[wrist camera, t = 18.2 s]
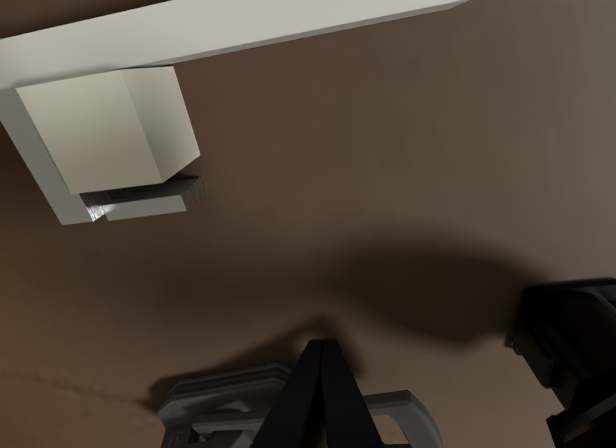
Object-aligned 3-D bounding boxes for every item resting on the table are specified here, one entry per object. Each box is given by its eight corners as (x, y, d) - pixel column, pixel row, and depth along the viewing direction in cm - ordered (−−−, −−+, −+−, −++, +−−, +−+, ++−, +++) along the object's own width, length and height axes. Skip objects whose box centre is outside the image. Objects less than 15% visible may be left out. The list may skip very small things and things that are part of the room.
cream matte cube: (173, 66, 17) (119, 69, 13) (200, 154, 20) (162, 182, 15) (86, 81, 18) (7, 89, 14) (122, 165, 20) (64, 195, 16)
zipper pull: (456, 469, 23) (179, 511, 29) (430, 384, 28) (205, 435, 35) (419, 396, 19) (113, 462, 25) (399, 316, 25) (154, 386, 31)
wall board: (449, -43, 14) (481, -70, 11) (447, 9, 15) (476, -3, 12) (32, 48, 17) (-33, 46, 14) (51, 87, 18) (-5, 93, 15)
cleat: (162, 65, 17) (119, 67, 14) (205, 191, 21) (179, 218, 17) (51, 87, 18) (-15, 94, 15) (109, 204, 22) (66, 232, 18)
